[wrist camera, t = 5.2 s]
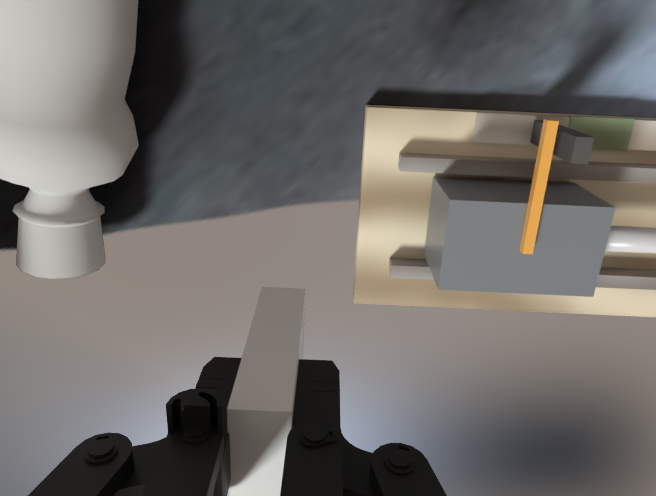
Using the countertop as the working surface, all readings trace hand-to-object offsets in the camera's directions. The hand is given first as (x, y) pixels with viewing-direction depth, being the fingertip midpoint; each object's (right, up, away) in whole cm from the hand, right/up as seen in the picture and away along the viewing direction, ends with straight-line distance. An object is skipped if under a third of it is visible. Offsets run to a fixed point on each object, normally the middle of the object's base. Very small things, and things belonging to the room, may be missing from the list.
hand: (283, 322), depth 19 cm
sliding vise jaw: (+16, +6, +11) cm, 20 cm away
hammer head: (+13, +9, +10) cm, 19 cm away
